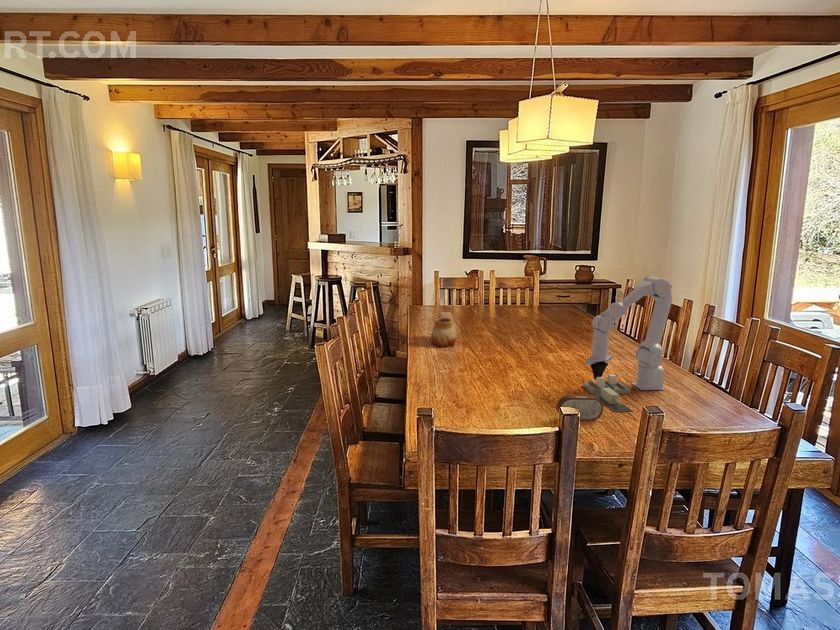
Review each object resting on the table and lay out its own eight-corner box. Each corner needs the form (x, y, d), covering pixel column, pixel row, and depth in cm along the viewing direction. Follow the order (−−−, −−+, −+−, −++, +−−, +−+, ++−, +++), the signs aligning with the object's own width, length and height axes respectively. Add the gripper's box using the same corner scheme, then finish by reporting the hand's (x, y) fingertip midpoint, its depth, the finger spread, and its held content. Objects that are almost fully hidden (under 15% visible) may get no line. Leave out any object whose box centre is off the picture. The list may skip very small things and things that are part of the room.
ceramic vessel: (457, 337, 288) (458, 310, 285) (456, 348, 262) (457, 319, 259) (432, 336, 289) (433, 309, 286) (429, 347, 263) (430, 318, 260)
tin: (599, 418, 173) (601, 394, 172) (603, 421, 170) (605, 397, 169) (555, 417, 173) (557, 393, 171) (558, 421, 170) (559, 397, 168)
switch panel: (619, 385, 207) (619, 379, 207) (629, 393, 199) (630, 387, 198) (583, 386, 206) (583, 380, 206) (592, 393, 197) (592, 387, 197)
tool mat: (610, 394, 197) (610, 393, 197) (633, 411, 179) (633, 411, 179) (592, 394, 196) (592, 394, 196) (613, 412, 179) (613, 411, 179)
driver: (608, 396, 194) (609, 387, 193) (624, 409, 181) (625, 399, 181) (600, 396, 194) (601, 387, 193) (616, 409, 181) (617, 399, 180)
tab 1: (602, 385, 202) (603, 376, 201) (605, 387, 200) (605, 378, 199) (595, 385, 202) (595, 376, 201) (597, 387, 199) (598, 378, 199)
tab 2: (613, 383, 206) (614, 374, 205) (616, 384, 203) (617, 376, 202) (606, 383, 205) (607, 374, 205) (609, 385, 203) (610, 376, 202)
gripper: (597, 351, 193) (594, 385, 196) (620, 346, 202) (617, 379, 204) (582, 347, 199) (579, 380, 201) (604, 342, 207) (601, 374, 210)
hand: (597, 379), depth 203 cm, fingers closed
